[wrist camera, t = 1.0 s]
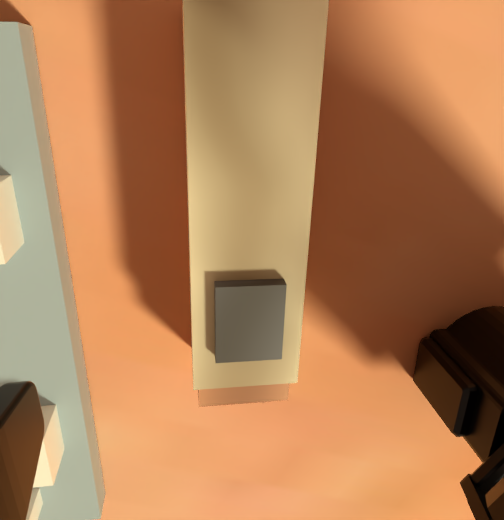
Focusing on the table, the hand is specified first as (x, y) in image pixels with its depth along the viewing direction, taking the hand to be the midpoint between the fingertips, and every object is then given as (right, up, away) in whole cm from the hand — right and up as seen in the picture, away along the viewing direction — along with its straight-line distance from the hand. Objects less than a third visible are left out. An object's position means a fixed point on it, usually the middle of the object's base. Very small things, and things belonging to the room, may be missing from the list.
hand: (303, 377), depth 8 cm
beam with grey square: (-2, +5, +11) cm, 12 cm away
